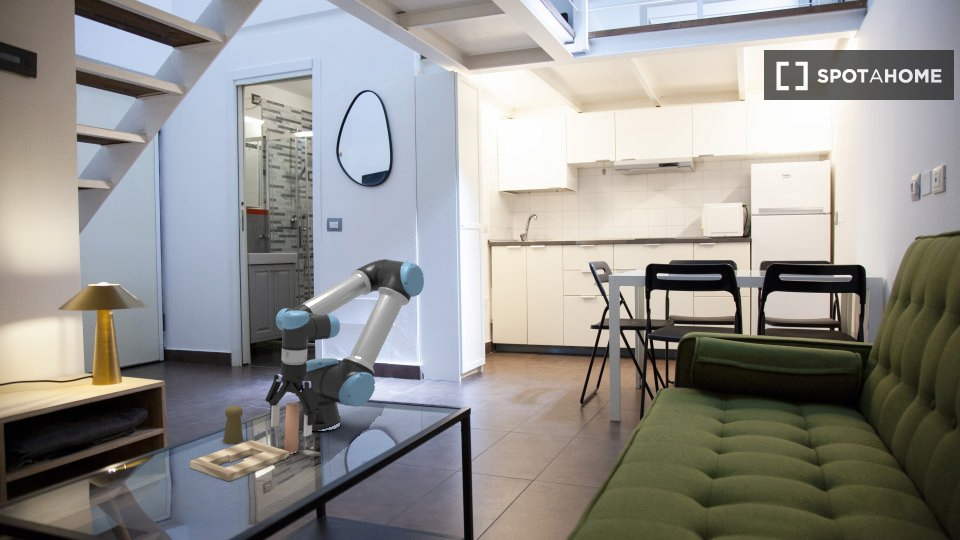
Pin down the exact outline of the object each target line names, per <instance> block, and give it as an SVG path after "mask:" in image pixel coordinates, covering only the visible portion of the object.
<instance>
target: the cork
mask: <svg viewBox="0 0 960 540" xmlns="http://www.w3.org/2000/svg"><path fill="white" fill-rule="evenodd" d="M224 412H225V413H224V415H225V417H226V422H225V428H224V434H223V440H222V443H224V444H225V445H226V444H227V445H238V444H241V443H243V442H244V435H243V425H242V416H243V409H242V407H241V406H239V405H233V406H232V405H231V406H228V407H227V408H226V409H225V411H224Z"/></svg>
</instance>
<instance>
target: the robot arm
mask: <svg viewBox="0 0 960 540" xmlns="http://www.w3.org/2000/svg"><path fill="white" fill-rule="evenodd" d="M424 277H425V276H424V273H423V271H422V268H421V267H420V266H419V265H418V264H416V263H414V262H409V261H399V260H394V259H393V260H392V259H385V258H384V259H378V260H375V261H372V262H370V263H367V264H365V265H363V266H360V267H359V268H357V269H356V270H353V271H352V272H351V274H350V276H349V277H347V278H345V279H343V280H342V281H340V282H338V283H336V284H335V285H333V286H330V287H329V288H327V289H325V290H324V291H322V292H320V293H319V294H317V295H315V296H314V297H312V298H310V299H308V300H306V301H305V302H303V303H302V304H300V305H298V306H296V307H294V308H290V307H289V308H285V307H284V308H282V309H281V310H279V311H278V313H277V314H276V317H275V324H276V326H277V328H278V329H279V330H281V331H282V334H281V338H282V339H281V358H280V359H281V361H282V362H281V363H280V373H278V374H274V375H273V382H272V384H271V386H270V388H269V390H268V393H267V394H266V397H265V402H266V403H269V406H270V408H269V409H270V410H269V411H270V412H269V414H270V416H271V417H270V427H271V428H274V427H278V426H280V413H281V410H280V409H281V404H280V401H281V400H282V399H283V397H284V396H285V395H286V393H291V394H294V395H295V396H296V397H297V398H298V400H299V402H300V404H301V406H300V407H299V430H300V431H301V430H302V431H303V435H302V436H303V437H308V436H310V435H311V436H312V435H313V432H312V431H318V430H322V429H326V428H329V427H332V426H334V425H336V424H338V423H340V422H341V423H342V418H341V415H340V412H339V407H338V403H339V404H342V405H344V406H349V407H353V408H354V407H356V408H357V407H361V406H363V405H365V404H367V402H368V401H370V399H371V397H372V396H373V394H374V392H375V389H376V386H375V384H376V380H375V378H374V375H375V370H374V365H375V363H376V361H377V358H378V356H379V355H380V353H381V350H382V349H383V346H384V344H385V342H386V340H387V338H388V336H389V334H390V332H391V329H392V328H393V325H394V323H395V321H396V319H397V317H398V315H399V312H400V311H401V309H402V307H403V306H406V305H408V304H409V303H410V300H411V298H412V297H413V298H414V297H417V296H419V295H420V294H421V293H422V291H423V288H424V284H425V278H424ZM372 292H378V293H379V296H378V298H377V300H376V303H375V304H374V306H373V308H372V310H371V312H370V314H369V316H368V319H367V320H366V323H365V325H364V327H363V328H362V330H361V332H360V334H359V336H358V339H357V341H356V342H355V344H354V346H353V349H352V350H351V353H350V354H349V355H348V356H346V357H343V358H342V360H341V362H340V364H339V360H338V359H337V358H334V357H324V358H323V357H322V358H314V359H310V360H308V344H309V342H311V341H319V340H329V339H332V338H335V337H337V336H338V335H339V333H340V330H341V322H340V320H339V318H338V317H337V316H336V315H335V314H331V313H333V312H334V311H337V310H339V309H340V308H342V307H344V305H346V304H348V303H349V302H351V301H353V300H354V299H356V298H358V297H360V296H361V295H363V296H367V295H368V294H370V293H372Z"/></svg>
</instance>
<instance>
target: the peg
mask: <svg viewBox="0 0 960 540" xmlns="http://www.w3.org/2000/svg"><path fill="white" fill-rule="evenodd" d="M299 411H300V403H299V402H287V403H285V418H284V419H285V422H284V423H285V424H284V426H285V427H284V449H283V450H285V451H288V452H289V453H291V452H295V451H298V452H299V430H300V429H299Z"/></svg>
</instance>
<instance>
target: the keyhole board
mask: <svg viewBox="0 0 960 540" xmlns="http://www.w3.org/2000/svg"><path fill="white" fill-rule="evenodd" d="M251 455H252V456H251ZM287 456H290V454H289V452H288V451H285V450H284V449H282V448H278V447H276V446H272V445H269V444H265V443H262V442H259V441H255V440H253V439H251V440H246V441H245V442H244V441H243V442H241V443H237V444H234V445H233V446H230V447H227V448H224V449H220V450H217V451H216V452H211V453H209V454H206V455H203V456H201V457H198V458H194V459H192V460H189V461H190V462H189V468H190V469H193V470H195V471H198V472H200V473H203V474H206V475H209V476H212V477H216V478H218V479H221V480H224V481H227V482H232V481H234V480H237V479H239V478H242V477H244V476H247V475H249V474H251V473H254V472H258V471H259V470H262V469H264V468H267V467H270V466H273V465H274V463H275V462H277V461H279V460H281V459H283V458H285V457H287ZM245 457H246V458H245ZM240 459H242V461H240V462H237V463H234V464H232V465H229V466H227V467H225V466H221V465H222V464H225V463H228V462H229V463H232V462H235V461H238V460H240ZM277 463H278V462H277ZM275 464H276V463H275Z"/></svg>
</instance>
